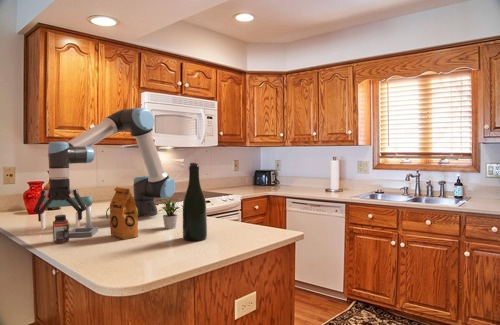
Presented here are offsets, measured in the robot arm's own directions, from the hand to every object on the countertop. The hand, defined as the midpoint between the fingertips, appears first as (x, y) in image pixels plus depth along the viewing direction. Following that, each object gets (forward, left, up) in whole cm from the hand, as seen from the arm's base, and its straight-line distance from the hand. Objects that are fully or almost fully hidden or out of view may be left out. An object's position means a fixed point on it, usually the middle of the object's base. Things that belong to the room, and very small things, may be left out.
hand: (60, 228), depth 148 cm
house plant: (-43, -18, -6) cm, 47 cm away
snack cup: (-19, -32, -6) cm, 38 cm away
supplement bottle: (0, 0, -6) cm, 6 cm away
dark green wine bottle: (-56, +6, -6) cm, 57 cm away
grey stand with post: (-5, -16, -6) cm, 17 cm away
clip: (+4, -21, +6) cm, 23 cm away
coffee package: (-25, -4, -6) cm, 26 cm away
